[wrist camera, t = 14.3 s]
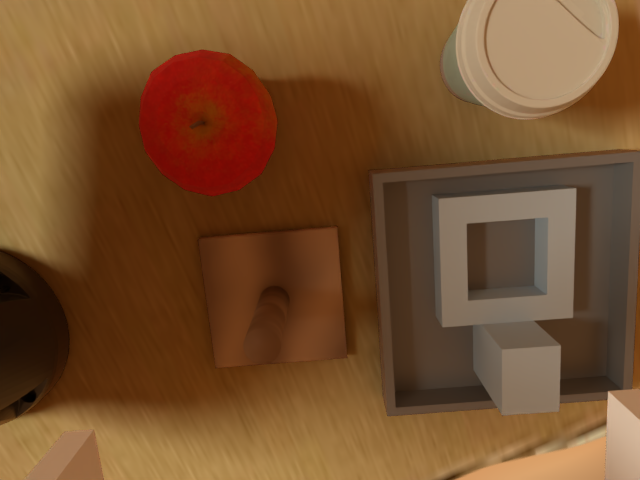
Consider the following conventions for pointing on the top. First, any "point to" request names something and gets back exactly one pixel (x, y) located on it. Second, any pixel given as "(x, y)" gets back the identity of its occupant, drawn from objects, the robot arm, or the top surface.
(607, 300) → the tray
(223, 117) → the apple
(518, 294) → the ring
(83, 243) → the top surface
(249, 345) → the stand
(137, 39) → the top surface
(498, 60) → the coffee cup
